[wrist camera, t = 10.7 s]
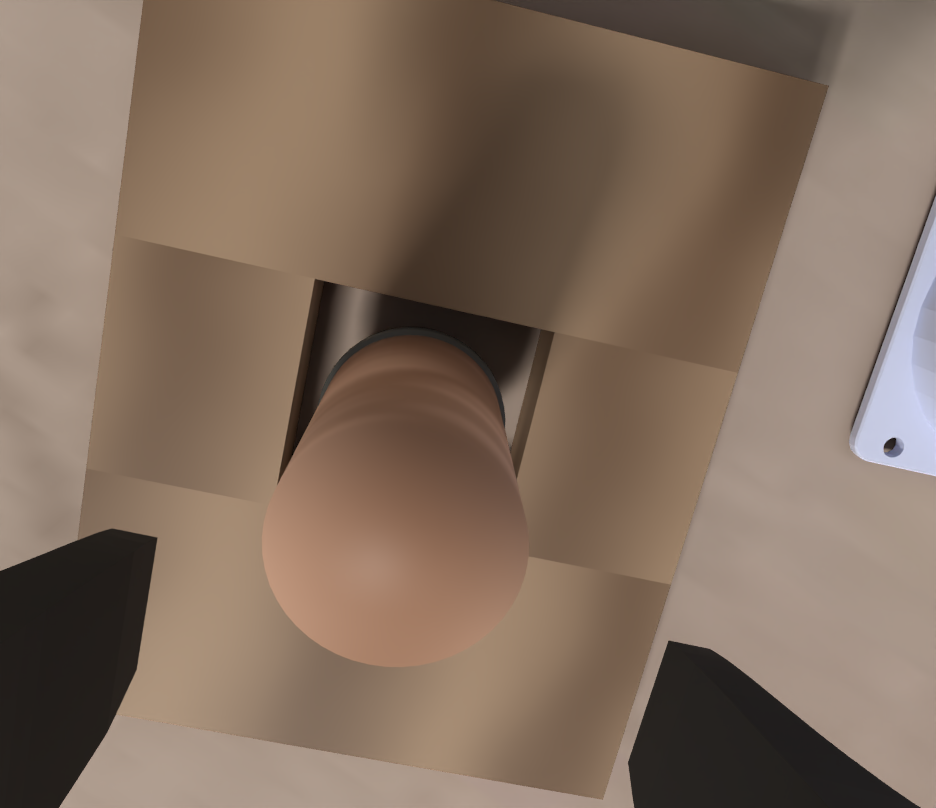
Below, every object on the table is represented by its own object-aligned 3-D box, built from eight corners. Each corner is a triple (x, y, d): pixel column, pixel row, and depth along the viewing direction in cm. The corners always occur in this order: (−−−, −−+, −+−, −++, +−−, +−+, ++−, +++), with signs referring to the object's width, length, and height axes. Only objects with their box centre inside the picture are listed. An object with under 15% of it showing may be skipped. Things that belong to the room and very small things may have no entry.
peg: (516, 334, 21) (568, 449, 13) (476, 489, 22) (498, 695, 14) (348, 294, 21) (282, 386, 12) (315, 455, 22) (233, 643, 13)
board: (791, 93, 20) (828, 85, 18) (589, 749, 25) (603, 799, 23) (183, -61, 19) (154, -87, 17) (89, 659, 23) (57, 704, 21)
